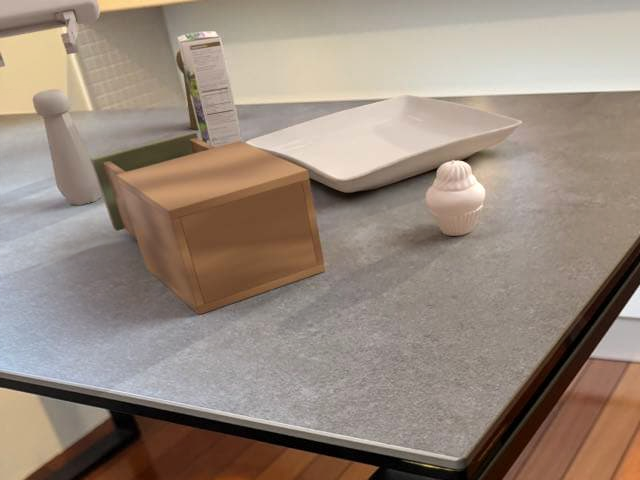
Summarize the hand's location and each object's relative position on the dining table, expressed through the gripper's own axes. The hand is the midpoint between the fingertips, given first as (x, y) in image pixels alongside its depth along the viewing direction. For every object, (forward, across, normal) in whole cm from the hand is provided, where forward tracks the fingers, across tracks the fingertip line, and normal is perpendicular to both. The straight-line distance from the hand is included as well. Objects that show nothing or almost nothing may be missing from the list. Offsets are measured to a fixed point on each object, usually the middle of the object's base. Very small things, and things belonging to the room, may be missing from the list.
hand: (35, 57), depth 105 cm
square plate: (+28, -38, +5) cm, 47 cm away
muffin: (+49, -35, +26) cm, 66 cm away
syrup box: (+11, -21, -11) cm, 27 cm away
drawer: (+33, -9, +12) cm, 36 cm away
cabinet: (+45, -12, +23) cm, 52 cm away
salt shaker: (+18, 0, -4) cm, 19 cm away
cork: (-1, -23, -23) cm, 32 cm away
